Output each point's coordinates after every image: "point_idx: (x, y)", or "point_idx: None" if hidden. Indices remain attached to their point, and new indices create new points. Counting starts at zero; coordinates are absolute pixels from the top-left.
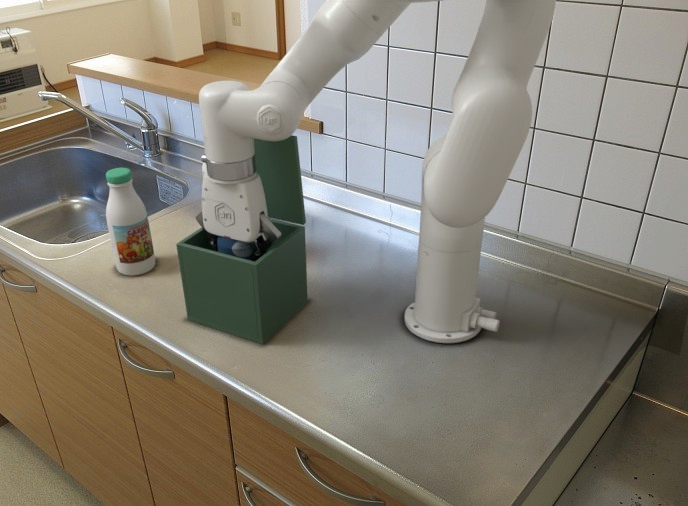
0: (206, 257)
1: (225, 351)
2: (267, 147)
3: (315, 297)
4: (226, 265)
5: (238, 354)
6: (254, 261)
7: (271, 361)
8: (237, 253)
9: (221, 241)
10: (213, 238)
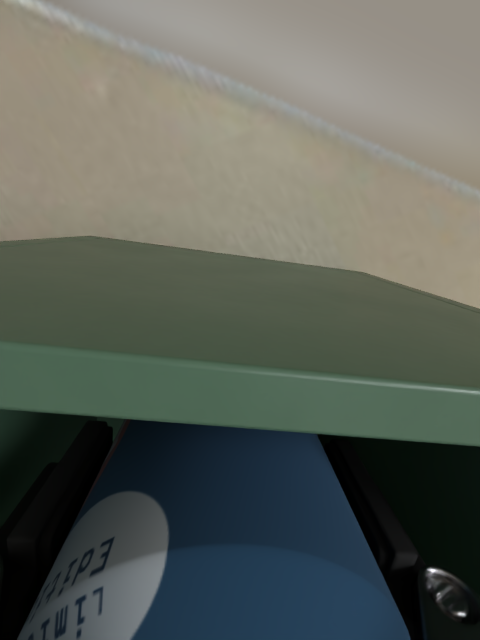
0: (388, 348)
1: (177, 161)
2: None
3: None
4: (127, 310)
5: (130, 161)
6: (40, 493)
7: (15, 163)
8: (128, 515)
9: (330, 626)
10: (450, 631)
